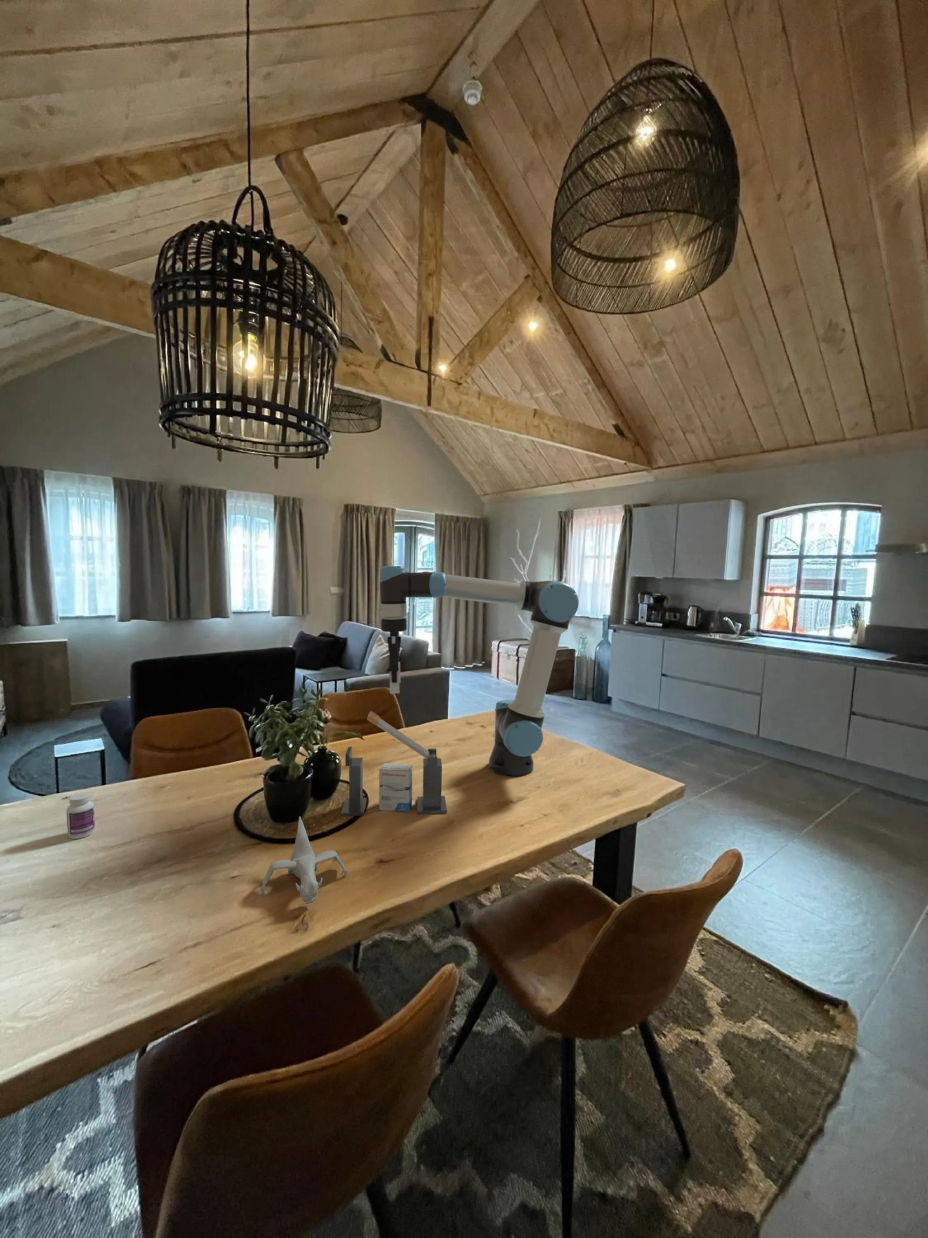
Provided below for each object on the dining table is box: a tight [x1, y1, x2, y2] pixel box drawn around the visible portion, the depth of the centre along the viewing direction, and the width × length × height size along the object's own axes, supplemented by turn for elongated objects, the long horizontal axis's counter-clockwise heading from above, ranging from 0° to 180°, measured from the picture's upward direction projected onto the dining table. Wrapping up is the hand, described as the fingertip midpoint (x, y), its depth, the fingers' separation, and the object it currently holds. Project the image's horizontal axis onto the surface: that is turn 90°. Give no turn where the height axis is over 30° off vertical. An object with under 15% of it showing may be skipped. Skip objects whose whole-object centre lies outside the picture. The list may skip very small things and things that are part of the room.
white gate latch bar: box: [366, 710, 435, 759], centre depth 139 cm, size 22×5×2 cm
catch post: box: [340, 746, 368, 817], centre depth 139 cm, size 6×9×16 cm, turn 6°
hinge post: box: [416, 748, 448, 815], centre depth 141 cm, size 8×9×16 cm
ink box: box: [378, 762, 413, 813], centre depth 140 cm, size 8×5×12 cm, turn 84°
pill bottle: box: [66, 792, 96, 840], centre depth 123 cm, size 5×5×10 cm
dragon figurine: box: [260, 816, 348, 905], centre depth 106 cm, size 15×15×9 cm
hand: (395, 687), depth 152 cm, fingers open, 13 cm apart
